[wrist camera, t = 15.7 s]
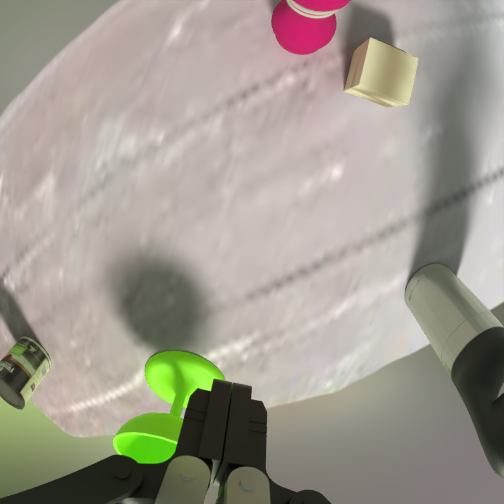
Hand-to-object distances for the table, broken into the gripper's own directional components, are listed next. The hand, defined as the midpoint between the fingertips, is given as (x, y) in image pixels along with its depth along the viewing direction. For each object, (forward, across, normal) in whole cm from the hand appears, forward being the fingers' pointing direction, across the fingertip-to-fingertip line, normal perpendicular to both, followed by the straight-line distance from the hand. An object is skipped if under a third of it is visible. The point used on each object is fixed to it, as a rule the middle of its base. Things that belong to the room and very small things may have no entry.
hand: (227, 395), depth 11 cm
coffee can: (+31, +42, +45) cm, 69 cm away
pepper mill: (+31, 0, -23) cm, 39 cm away
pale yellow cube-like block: (+31, -10, -20) cm, 38 cm away
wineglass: (+31, +5, +36) cm, 48 cm away
